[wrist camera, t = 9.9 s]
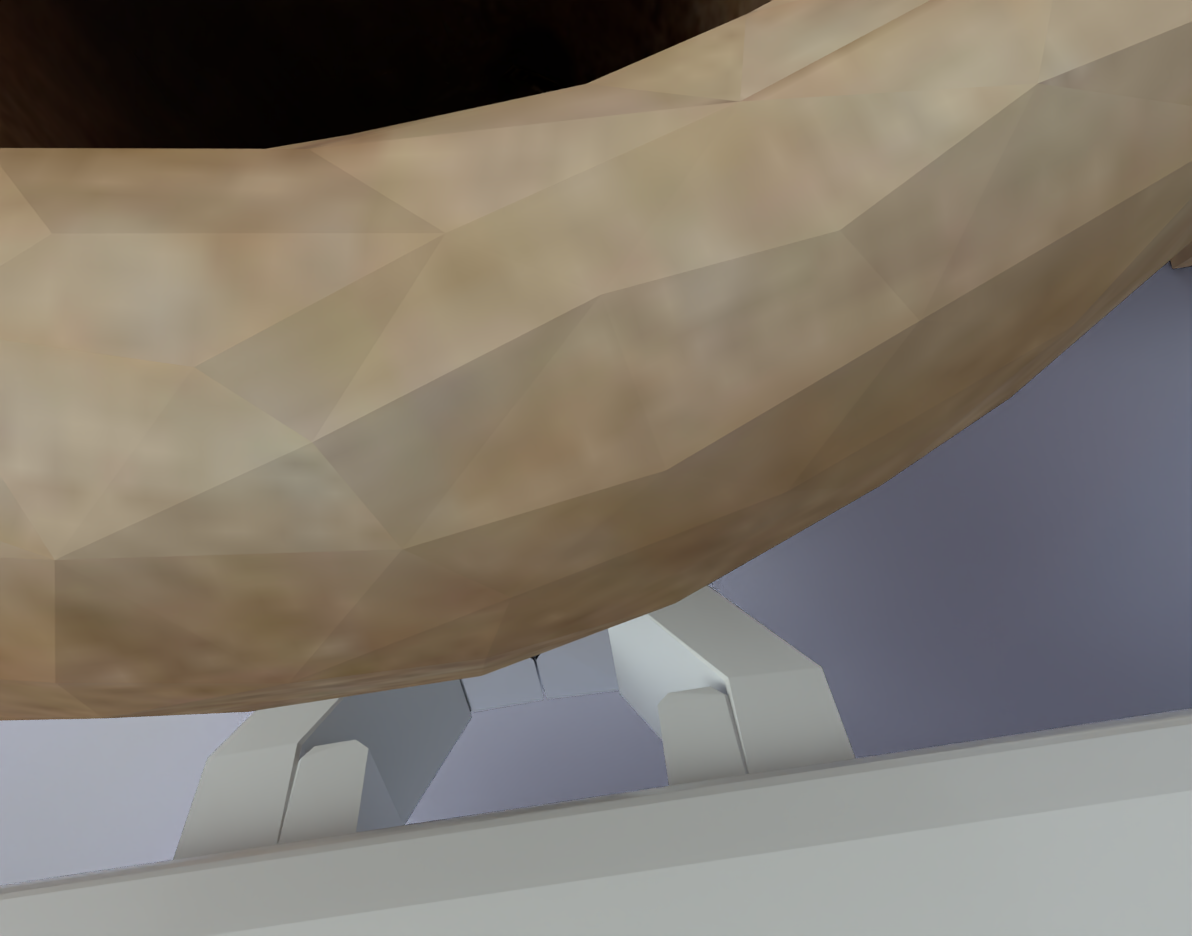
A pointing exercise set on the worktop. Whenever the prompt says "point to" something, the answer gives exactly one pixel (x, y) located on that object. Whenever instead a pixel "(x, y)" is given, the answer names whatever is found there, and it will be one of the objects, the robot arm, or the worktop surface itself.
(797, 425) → the brown boot
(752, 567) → the worktop surface
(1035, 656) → the worktop surface
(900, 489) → the worktop surface
